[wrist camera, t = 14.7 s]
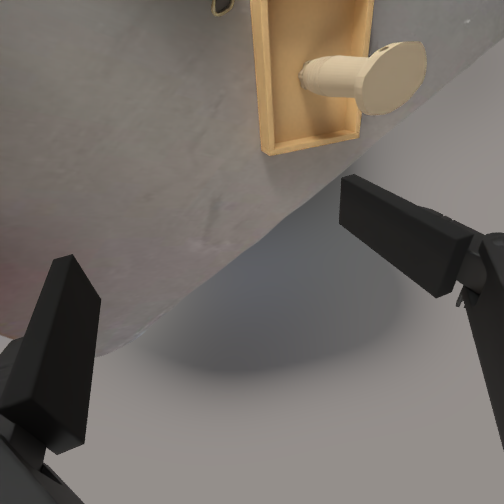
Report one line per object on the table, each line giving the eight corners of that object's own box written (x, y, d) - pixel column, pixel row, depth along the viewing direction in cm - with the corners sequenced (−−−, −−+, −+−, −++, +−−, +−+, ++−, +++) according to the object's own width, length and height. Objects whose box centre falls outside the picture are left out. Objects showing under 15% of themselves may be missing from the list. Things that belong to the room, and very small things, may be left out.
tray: (249, -9, 30) (259, -16, 28) (358, -17, 33) (377, -23, 31) (261, 150, 40) (269, 156, 37) (346, 133, 43) (359, 137, 40)
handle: (334, 81, 38) (428, 88, 26) (293, 107, 38) (367, 127, 26) (324, 40, 35) (425, 26, 23) (279, 68, 35) (357, 70, 23)
